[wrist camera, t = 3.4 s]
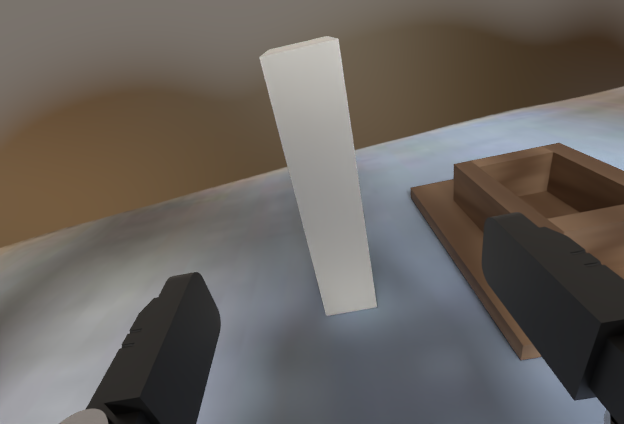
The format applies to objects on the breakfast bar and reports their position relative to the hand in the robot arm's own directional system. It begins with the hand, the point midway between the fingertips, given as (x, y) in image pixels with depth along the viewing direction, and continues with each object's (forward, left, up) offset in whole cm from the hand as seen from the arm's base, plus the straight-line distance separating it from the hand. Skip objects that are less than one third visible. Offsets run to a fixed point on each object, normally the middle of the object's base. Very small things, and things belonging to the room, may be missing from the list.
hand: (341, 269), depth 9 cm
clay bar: (0, +9, -9) cm, 12 cm away
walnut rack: (+13, +10, -9) cm, 18 cm away
